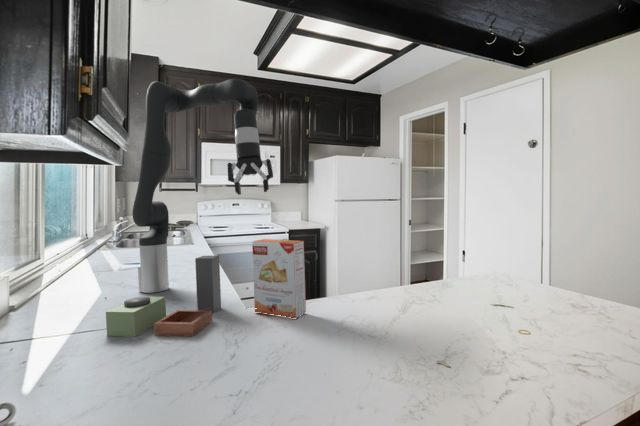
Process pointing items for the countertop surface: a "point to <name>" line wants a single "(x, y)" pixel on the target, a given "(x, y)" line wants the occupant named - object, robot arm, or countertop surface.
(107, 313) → the green block with knob
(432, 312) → the countertop surface
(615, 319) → the countertop surface
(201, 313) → the collar
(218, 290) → the block
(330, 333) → the countertop surface
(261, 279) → the cracker box
